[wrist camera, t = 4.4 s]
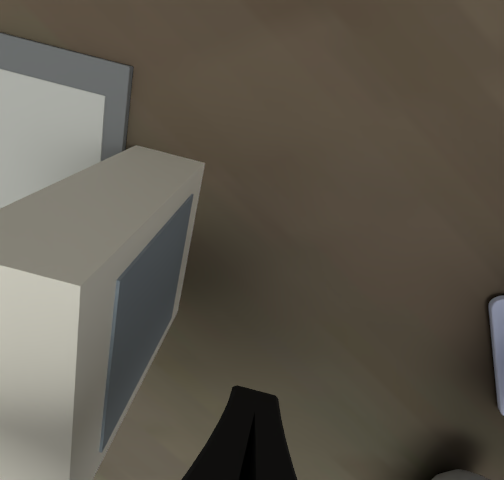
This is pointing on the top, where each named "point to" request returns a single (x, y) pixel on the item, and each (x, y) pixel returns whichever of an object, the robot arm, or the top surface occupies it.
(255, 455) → the robot arm
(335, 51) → the top surface
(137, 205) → the card box
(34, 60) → the mat
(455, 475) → the donut
